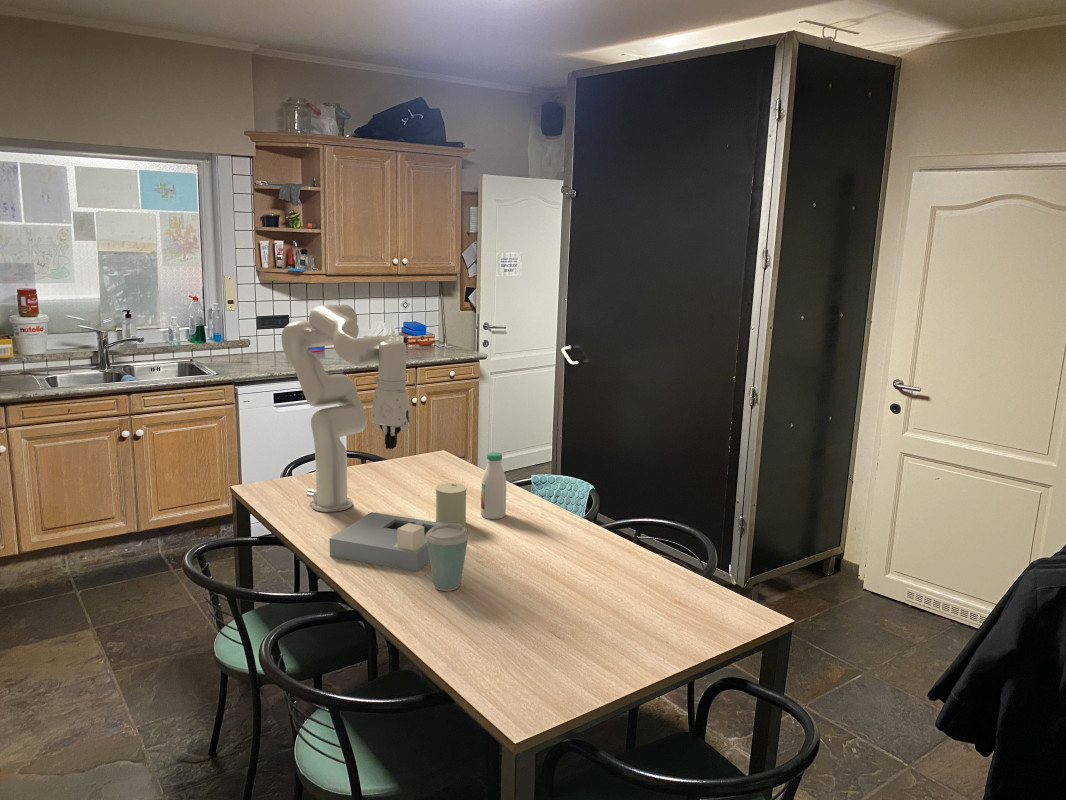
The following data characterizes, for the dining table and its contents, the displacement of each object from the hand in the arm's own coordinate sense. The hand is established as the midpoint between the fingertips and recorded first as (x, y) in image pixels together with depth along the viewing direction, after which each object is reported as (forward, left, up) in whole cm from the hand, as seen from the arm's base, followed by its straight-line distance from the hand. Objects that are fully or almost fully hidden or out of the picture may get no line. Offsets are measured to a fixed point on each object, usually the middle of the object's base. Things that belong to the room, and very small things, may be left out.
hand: (390, 447), depth 222 cm
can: (+14, +12, -25) cm, 31 cm away
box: (+7, -11, -25) cm, 28 cm away
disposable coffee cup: (+30, -27, -25) cm, 47 cm away
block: (+16, -18, -20) cm, 31 cm away
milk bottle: (+23, +24, -25) cm, 41 cm away
